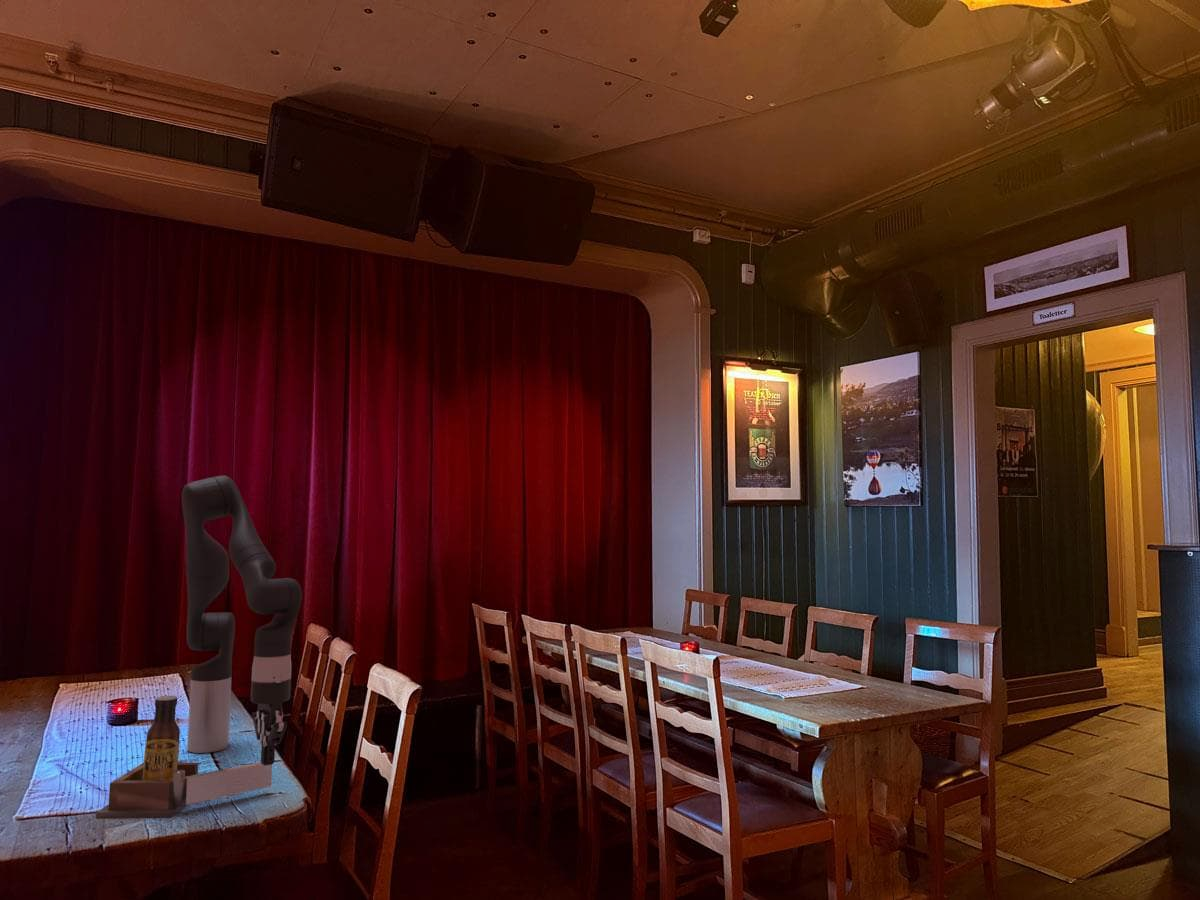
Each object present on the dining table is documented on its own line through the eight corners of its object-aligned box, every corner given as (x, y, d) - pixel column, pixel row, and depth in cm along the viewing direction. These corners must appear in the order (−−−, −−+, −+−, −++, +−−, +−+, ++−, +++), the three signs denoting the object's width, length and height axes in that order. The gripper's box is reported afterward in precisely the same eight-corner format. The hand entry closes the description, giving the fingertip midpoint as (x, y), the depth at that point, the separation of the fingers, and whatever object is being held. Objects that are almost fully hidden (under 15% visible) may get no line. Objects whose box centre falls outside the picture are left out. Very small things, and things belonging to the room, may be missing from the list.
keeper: (173, 807, 159) (175, 773, 160) (170, 805, 161) (172, 771, 161) (271, 786, 172) (273, 754, 173) (267, 784, 174) (269, 752, 174)
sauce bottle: (137, 804, 162) (143, 701, 164) (144, 793, 168) (150, 694, 170) (173, 801, 164) (178, 700, 166) (179, 791, 170) (184, 693, 171)
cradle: (138, 789, 173) (139, 760, 174) (205, 789, 174) (207, 760, 175) (95, 817, 158) (97, 785, 158) (170, 817, 158) (172, 785, 159)
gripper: (241, 674, 170) (236, 760, 169) (265, 684, 160) (261, 775, 159) (277, 670, 175) (273, 753, 174) (302, 679, 165) (299, 768, 164)
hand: (267, 764), depth 166 cm, fingers closed
